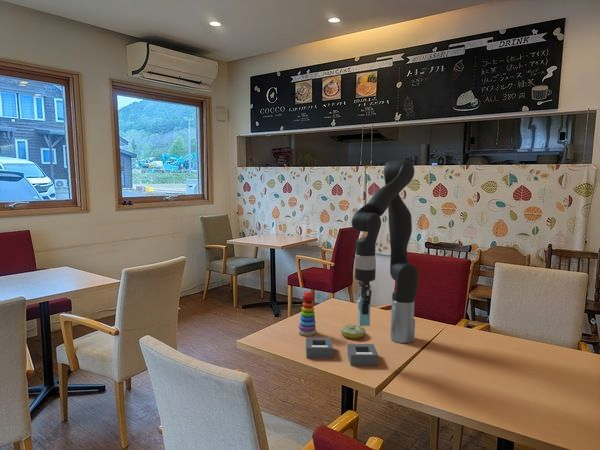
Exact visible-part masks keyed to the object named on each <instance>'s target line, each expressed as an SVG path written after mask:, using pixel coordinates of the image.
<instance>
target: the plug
mask: <svg viewBox="0 0 600 450" xmlns="http://www.w3.org/2000/svg"><path fill="white" fill-rule="evenodd" d="M365 301H367V299H366V300H365ZM356 309H357V310H358V326H361V327H370V326H371V325H370V324H371V303H370V304H369V306H368V314H362V298H361V297H359V296H358V299H357V300H356Z"/></svg>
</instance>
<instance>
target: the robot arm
mask: <svg viewBox="0 0 600 450" xmlns="http://www.w3.org/2000/svg"><path fill="white" fill-rule="evenodd" d="M414 176H415V166H414V164H413V162H412V161H410V160H407V159H406V160H405V159H402V160H401V159H400V160H393V161H387V162H386V163H385V165H384V168H383V178H384V186H382V187H380V188H379V189H378V190H377V191H375V193H374V194H373V195H372V197H371V198H370V199H369V201H368V202H367V203H366V204H364V205H363V206H362V207H360V208H359V209H358V210H357V211H356V212H355V213H354V214H353V215H352V218H351V226H352V229H354V230H355V231H356V232H365V233H367V234H366V236H365V237H360V238H357V239H356V243H355V259H354V279H355V281H358V282H357V283H358V298H359V297H361V298H362V314H368V306H369V304H370V305H371V301H372V300H371V299H372V293H373V291H372V285H370V282H373V281H375V280H376V268H377V267H376V266H377V259H376V247H377V246H376V245H377V240H378V237H379V233H380V229H381V228H382V227H381V226H382V219H381V217H382V216H383V215H384V213H385V212H386V210H388V211H387V216H388V230H389V231H388V232H389V245H390V262H389V265H390V266H389V273H390V276H391V279H393V280H394V282H396V290H395V291H393V292H392V295H391V313H390V314H391V315H390V316H391V317H390V318H391V319H390V340H391V341H393V342H396V343H398V344H410V343H412V342H415V330H416V329H415V327H416V319H415V318H414V315H415V298H416V296H417V293H418V286H419V285H418V283H419V271H418V269H417V267H416V266H415V265H414V264H411V263H409V261H408V246H409V242H410V239H411V236H412V231H413V224H412V223H413V220H412V215H411V212H410V209H409V208H408V207H407V205H406V203H405V202H404V201H403V199H402V197H401V196H400V193H401V192H402V191H403V190H404V189H405V188H406V187H407V186H408V185H409V184H410V183H411V181H413V178H414ZM366 299H367V301H365V300H366Z"/></svg>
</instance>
